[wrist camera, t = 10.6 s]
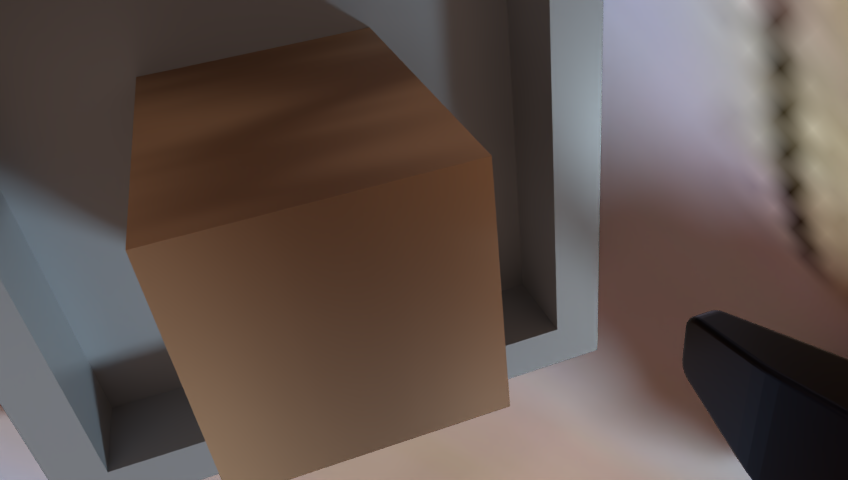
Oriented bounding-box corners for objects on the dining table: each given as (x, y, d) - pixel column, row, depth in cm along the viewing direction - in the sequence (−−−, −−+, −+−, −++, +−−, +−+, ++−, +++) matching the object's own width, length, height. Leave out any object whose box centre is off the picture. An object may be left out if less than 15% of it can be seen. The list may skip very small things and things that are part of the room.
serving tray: (532, -249, 15) (608, -258, 12) (549, 290, 22) (597, 350, 20) (-233, -137, 12) (-330, -121, 10) (83, 432, 20) (74, 521, 17)
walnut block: (369, 27, 16) (491, 155, 10) (400, 220, 19) (509, 405, 13) (135, 77, 15) (125, 250, 9) (205, 272, 18) (229, 499, 12)
